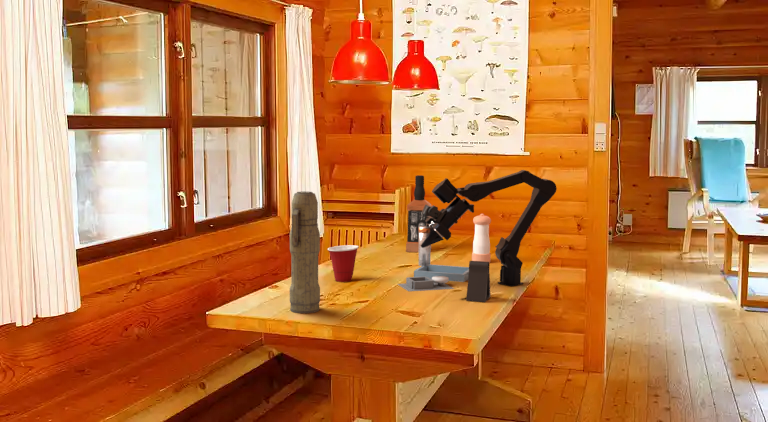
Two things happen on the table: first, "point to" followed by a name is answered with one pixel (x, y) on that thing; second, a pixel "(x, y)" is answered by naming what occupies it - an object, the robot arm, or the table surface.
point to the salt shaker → (424, 252)
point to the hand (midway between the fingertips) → (420, 245)
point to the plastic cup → (343, 261)
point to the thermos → (304, 254)
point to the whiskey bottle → (416, 215)
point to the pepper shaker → (481, 239)
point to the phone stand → (478, 282)
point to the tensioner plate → (426, 283)
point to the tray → (443, 272)
